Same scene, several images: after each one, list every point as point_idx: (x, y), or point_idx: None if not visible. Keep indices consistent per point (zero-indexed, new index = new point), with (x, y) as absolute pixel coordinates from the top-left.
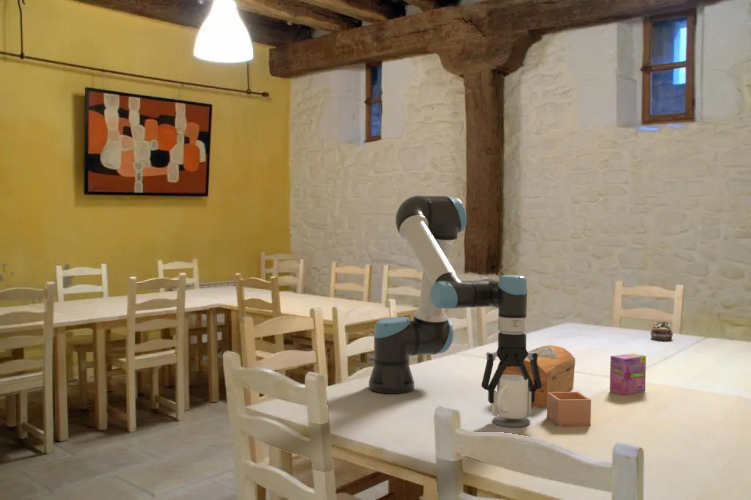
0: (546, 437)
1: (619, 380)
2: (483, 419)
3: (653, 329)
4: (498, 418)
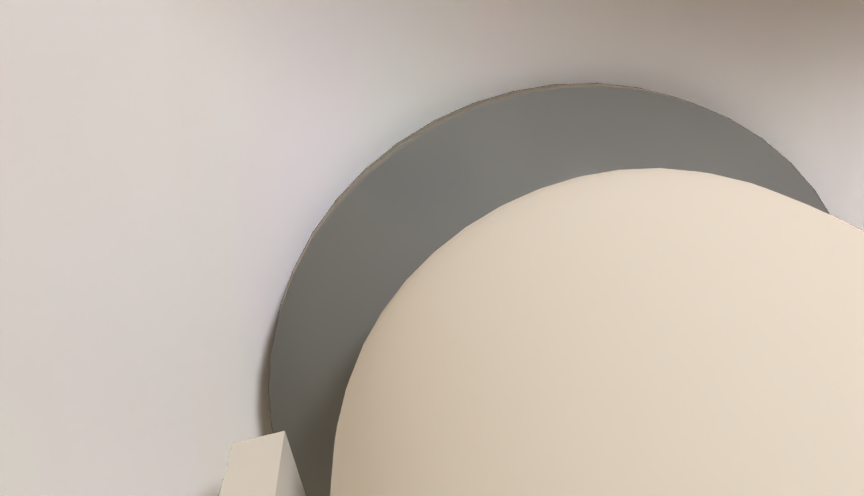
0: None
1: None
2: (109, 284)
3: None
4: (367, 335)
